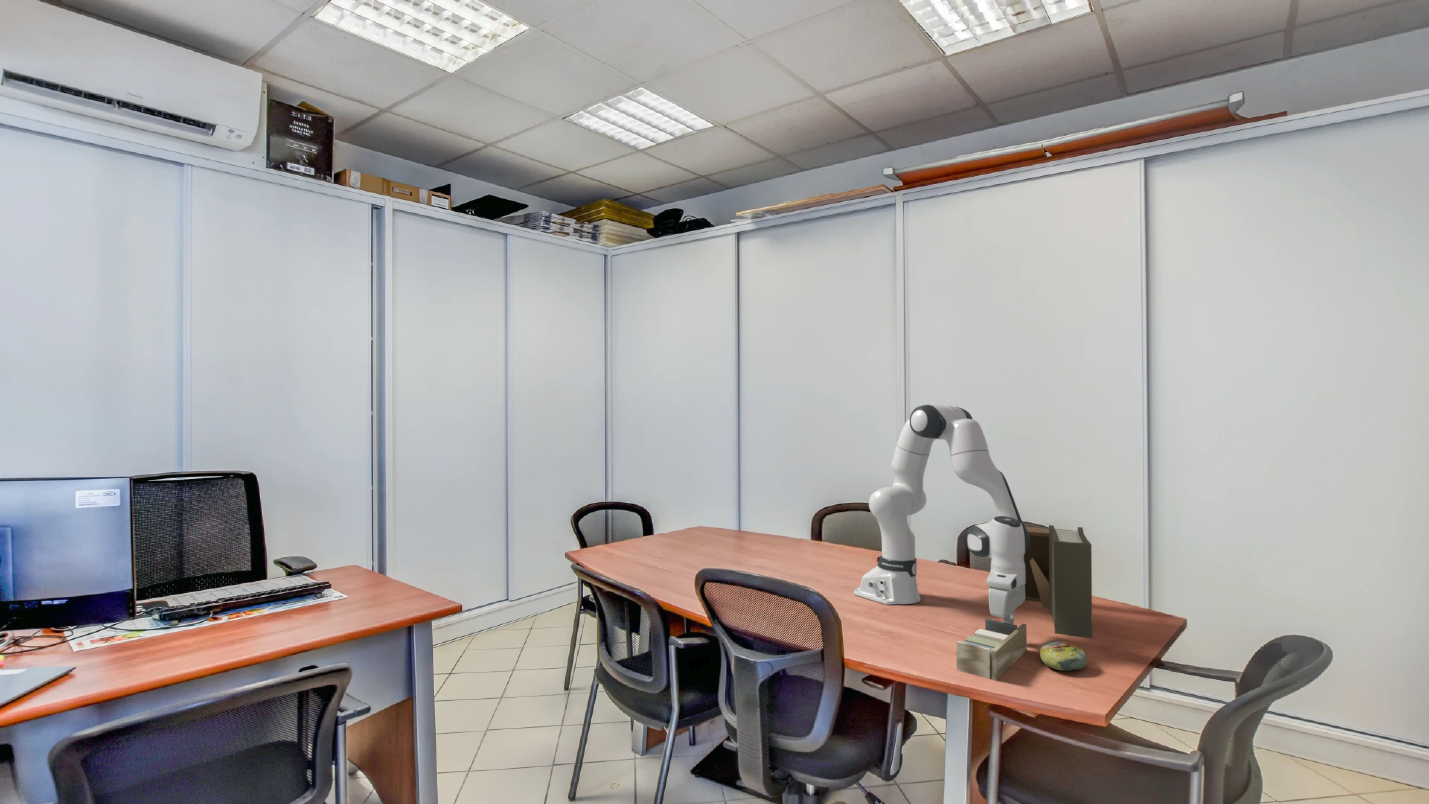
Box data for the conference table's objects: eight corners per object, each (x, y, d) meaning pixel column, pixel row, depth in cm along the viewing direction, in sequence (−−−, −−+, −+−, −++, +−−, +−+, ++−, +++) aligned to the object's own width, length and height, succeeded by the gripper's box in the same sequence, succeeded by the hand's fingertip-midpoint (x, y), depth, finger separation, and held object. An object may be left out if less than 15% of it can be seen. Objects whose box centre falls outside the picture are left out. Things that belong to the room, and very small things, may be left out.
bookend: (985, 644, 172) (985, 619, 172) (993, 637, 177) (993, 613, 177) (1016, 652, 167) (1016, 626, 167) (1024, 644, 172) (1023, 619, 172)
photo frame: (1001, 594, 219) (1001, 522, 220) (1072, 602, 209) (1071, 527, 210) (999, 604, 206) (998, 528, 207) (1075, 614, 196) (1074, 534, 197)
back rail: (956, 669, 156) (956, 641, 157) (990, 641, 175) (990, 616, 175) (996, 680, 150) (995, 651, 150) (1026, 650, 169) (1026, 624, 169)
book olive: (965, 662, 161) (965, 639, 161) (971, 658, 164) (970, 635, 164) (997, 671, 156) (997, 647, 156) (1002, 666, 159) (1002, 643, 159)
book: (1092, 640, 177) (1091, 543, 176) (1055, 635, 181) (1054, 540, 180) (1082, 615, 196) (1082, 527, 196) (1049, 611, 200) (1048, 525, 200)
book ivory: (974, 655, 166) (974, 632, 166) (979, 650, 169) (979, 628, 169) (1006, 663, 160) (1005, 640, 160) (1011, 658, 163) (1010, 635, 163)
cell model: (1033, 661, 156) (1039, 624, 167) (1042, 685, 157) (1047, 647, 169) (1080, 662, 150) (1082, 624, 161) (1089, 688, 151) (1090, 648, 162)
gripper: (1007, 566, 184) (1008, 613, 184) (984, 581, 169) (984, 632, 169) (1030, 570, 180) (1031, 618, 180) (1008, 585, 165) (1009, 637, 165)
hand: (1008, 625), depth 174 cm, fingers closed
